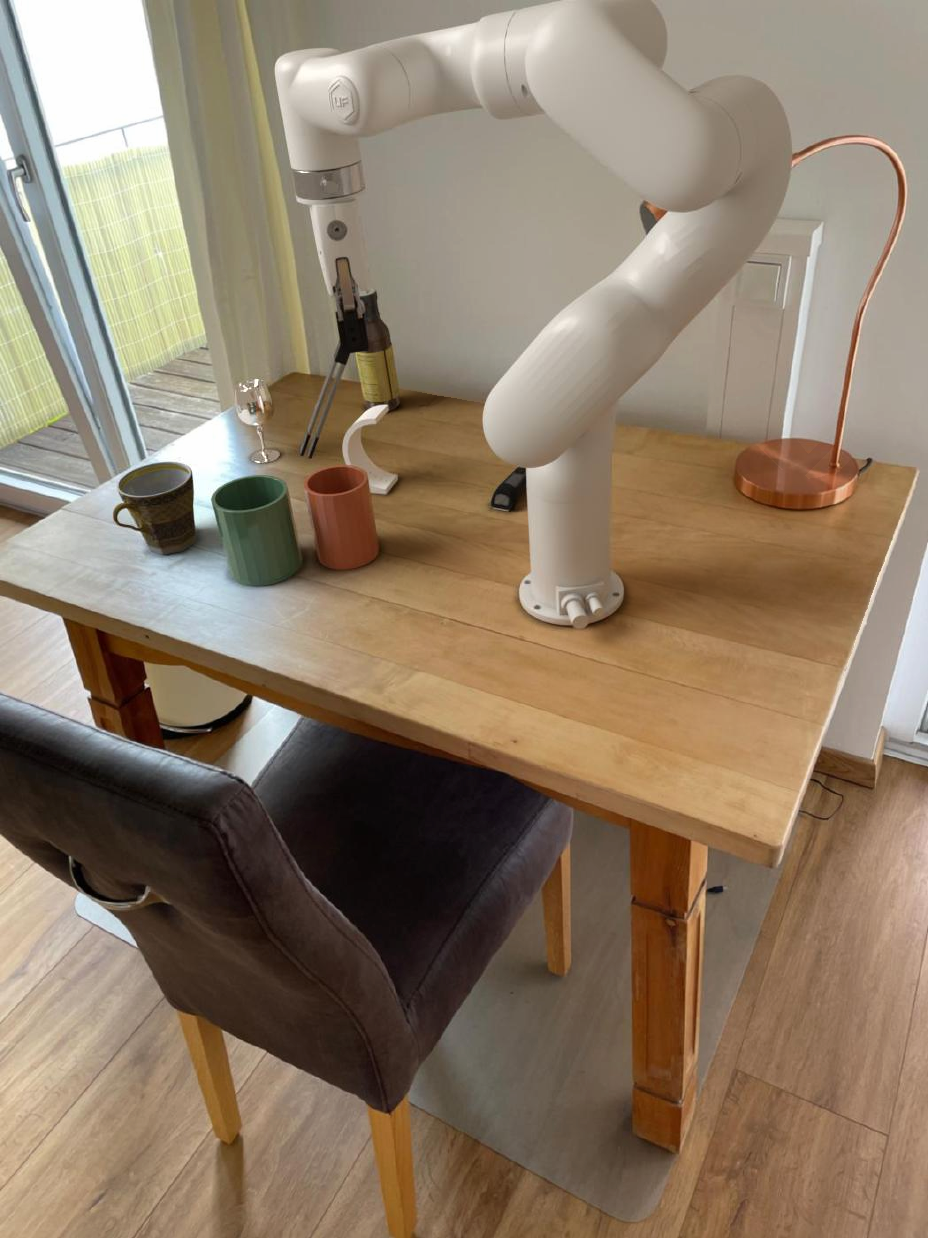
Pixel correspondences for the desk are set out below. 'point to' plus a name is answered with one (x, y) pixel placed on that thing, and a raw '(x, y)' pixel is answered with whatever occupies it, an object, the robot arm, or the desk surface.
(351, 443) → the headphone stand
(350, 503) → the terracotta cup
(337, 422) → the desk surface
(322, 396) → the tongs
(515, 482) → the electric trimmer
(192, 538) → the ceramic cup
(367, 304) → the sauce bottle
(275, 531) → the green cup
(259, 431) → the wineglass
